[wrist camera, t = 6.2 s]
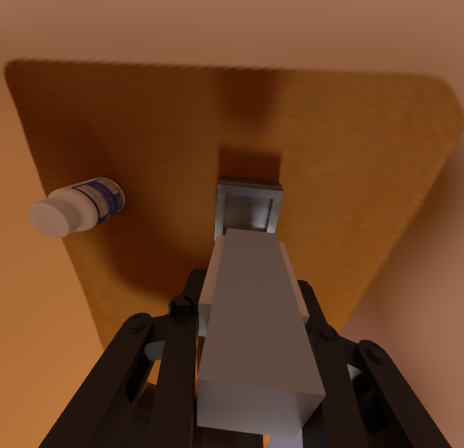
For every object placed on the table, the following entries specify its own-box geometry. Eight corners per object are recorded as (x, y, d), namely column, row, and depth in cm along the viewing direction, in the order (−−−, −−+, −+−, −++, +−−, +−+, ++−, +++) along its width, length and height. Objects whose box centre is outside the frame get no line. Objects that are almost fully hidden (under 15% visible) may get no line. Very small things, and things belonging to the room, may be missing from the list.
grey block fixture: (259, 274, 30) (267, 355, 19) (215, 269, 30) (198, 346, 19) (278, 182, 23) (310, 224, 12) (221, 175, 23) (200, 212, 12)
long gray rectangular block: (265, 277, 16) (289, 444, 8) (223, 272, 17) (197, 432, 8) (275, 233, 14) (326, 395, 5) (226, 228, 14) (196, 378, 5)
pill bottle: (100, 213, 27) (41, 246, 19) (83, 179, 25) (7, 200, 17) (132, 209, 26) (84, 241, 18) (117, 174, 24) (55, 192, 16)
